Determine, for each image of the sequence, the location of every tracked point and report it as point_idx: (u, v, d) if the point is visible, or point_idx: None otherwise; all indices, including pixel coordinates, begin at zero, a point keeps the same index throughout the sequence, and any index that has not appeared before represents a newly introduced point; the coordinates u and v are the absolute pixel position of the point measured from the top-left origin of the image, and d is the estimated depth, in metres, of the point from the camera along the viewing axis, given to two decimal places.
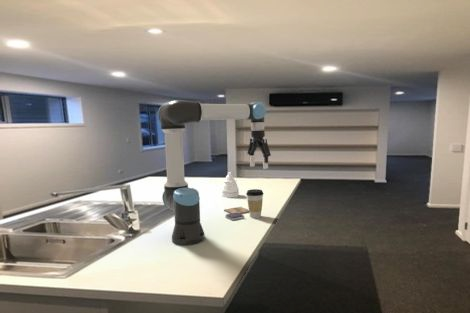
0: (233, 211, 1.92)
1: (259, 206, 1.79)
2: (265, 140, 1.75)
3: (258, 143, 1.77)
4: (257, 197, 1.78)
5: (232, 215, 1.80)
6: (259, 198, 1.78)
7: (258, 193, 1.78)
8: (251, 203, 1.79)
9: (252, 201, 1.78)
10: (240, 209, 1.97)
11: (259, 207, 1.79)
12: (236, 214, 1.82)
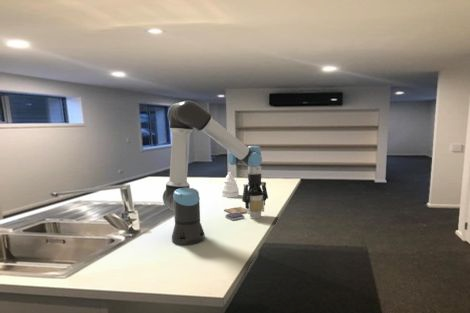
0: (233, 211, 1.92)
1: (259, 206, 1.79)
2: (245, 186, 1.77)
3: None
4: (257, 197, 1.78)
5: (232, 215, 1.80)
6: (259, 198, 1.78)
7: (258, 193, 1.78)
8: (251, 203, 1.79)
9: (252, 201, 1.78)
10: (240, 209, 1.97)
11: (259, 207, 1.79)
12: (236, 214, 1.82)
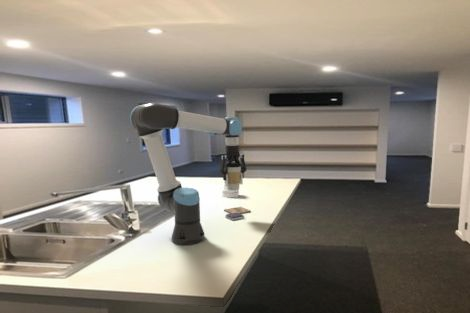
0: (233, 211, 1.92)
1: (237, 178, 1.77)
2: (222, 157, 1.75)
3: (227, 158, 1.79)
4: (235, 169, 1.75)
5: (232, 215, 1.80)
6: (237, 170, 1.76)
7: (236, 164, 1.75)
8: (228, 175, 1.76)
9: (229, 173, 1.76)
10: (240, 209, 1.97)
11: (237, 179, 1.77)
12: (236, 214, 1.82)
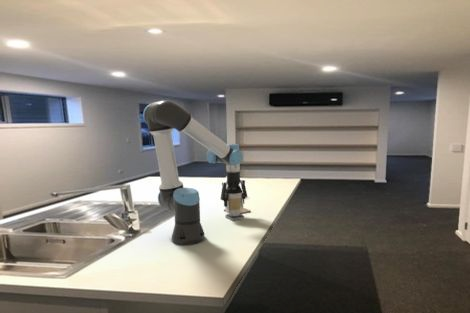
0: None
1: (238, 204, 1.78)
2: (223, 184, 1.76)
3: (228, 185, 1.80)
4: (235, 195, 1.77)
5: None
6: (237, 196, 1.77)
7: (236, 191, 1.76)
8: (229, 201, 1.78)
9: (230, 199, 1.77)
10: (240, 209, 1.97)
11: (238, 205, 1.78)
12: None
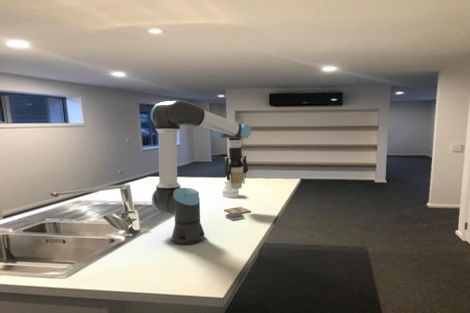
0: (233, 211, 1.92)
1: (239, 177, 1.90)
2: (225, 159, 1.89)
3: (230, 160, 1.92)
4: (237, 169, 1.89)
5: (232, 215, 1.80)
6: (239, 170, 1.89)
7: (238, 165, 1.89)
8: (231, 174, 1.90)
9: (232, 172, 1.89)
10: (240, 209, 1.97)
11: (239, 178, 1.90)
12: (236, 214, 1.82)
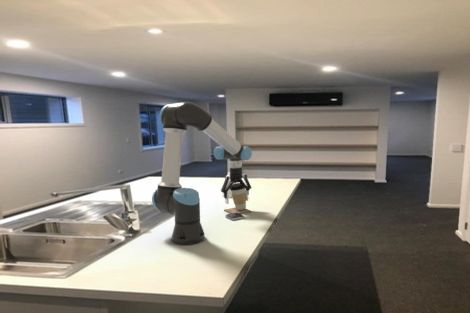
0: (233, 211, 1.92)
1: (242, 199, 1.92)
2: (226, 177, 1.89)
3: None
4: (239, 191, 1.91)
5: (232, 215, 1.80)
6: (241, 191, 1.91)
7: (239, 187, 1.90)
8: (234, 196, 1.92)
9: (235, 195, 1.92)
10: None
11: (242, 200, 1.93)
12: (236, 214, 1.82)
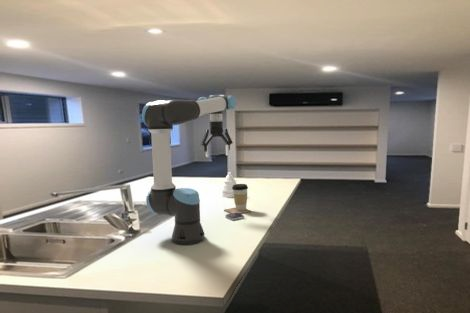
0: (233, 211, 1.92)
1: (243, 199, 1.93)
2: (206, 131, 1.90)
3: (211, 133, 1.94)
4: (241, 191, 1.91)
5: (232, 215, 1.80)
6: (243, 192, 1.92)
7: (242, 187, 1.91)
8: (236, 196, 1.93)
9: (236, 195, 1.92)
10: None
11: (243, 200, 1.93)
12: (236, 214, 1.82)
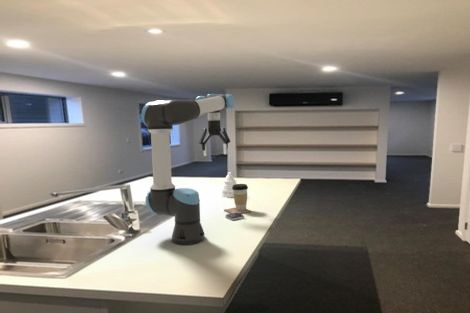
0: (233, 211, 1.92)
1: (243, 199, 1.93)
2: (204, 129, 1.90)
3: (209, 132, 1.94)
4: (241, 191, 1.91)
5: (232, 215, 1.80)
6: (243, 192, 1.92)
7: (242, 187, 1.91)
8: (236, 196, 1.93)
9: (236, 195, 1.92)
10: None
11: (243, 200, 1.93)
12: (236, 214, 1.82)
